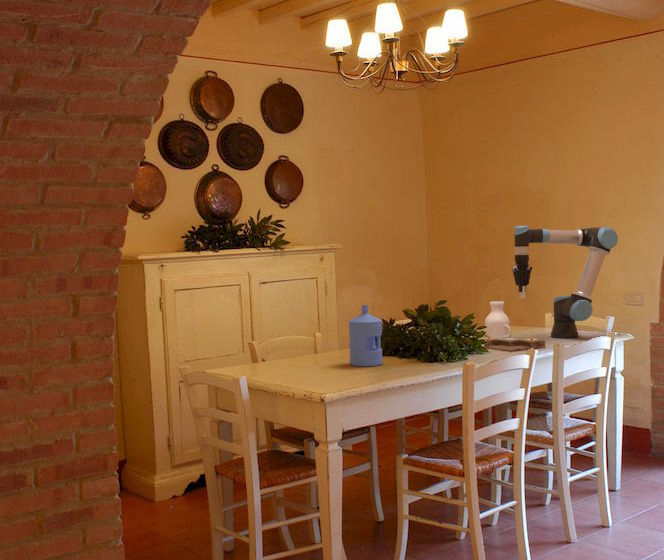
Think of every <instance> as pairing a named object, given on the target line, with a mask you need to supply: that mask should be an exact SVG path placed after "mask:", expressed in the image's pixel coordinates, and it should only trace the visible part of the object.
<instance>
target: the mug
mask: <svg viewBox="0 0 664 560" xmlns="http://www.w3.org/2000/svg"><path fill="white" fill-rule="evenodd" d="M506 328H508V330H509V331H508V335H506ZM511 329H512V328H511V327H510V326H508V325H506V321H492V322H491V337H490V338H495V339H498V340H502V339H507V338H510V336H511V335H512V330H511Z"/></svg>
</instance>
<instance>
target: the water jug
mask: <svg viewBox="0 0 664 560" xmlns="http://www.w3.org/2000/svg"><path fill="white" fill-rule="evenodd" d="M382 324H383V322H382V319H380V318H378V317H376V316H374V315H372V314H370V313H369V305H368V304H363V305H361V313H360V314H359V315H357V316H356V317H354V318H352V319H350V320H349V321H348V330H349V331H348V332H349V333H348V335H349V339H348V340H349V343H348V345H349V364H350V366H354V367H360V368H361V367H362V368H364V367H366V368H368V367H370V368H371V367H377V366H381V365H383V361H384V358H383V348H382V345H381V343H382V341H381V336H382V334H383V333H382V330H383V325H382Z"/></svg>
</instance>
